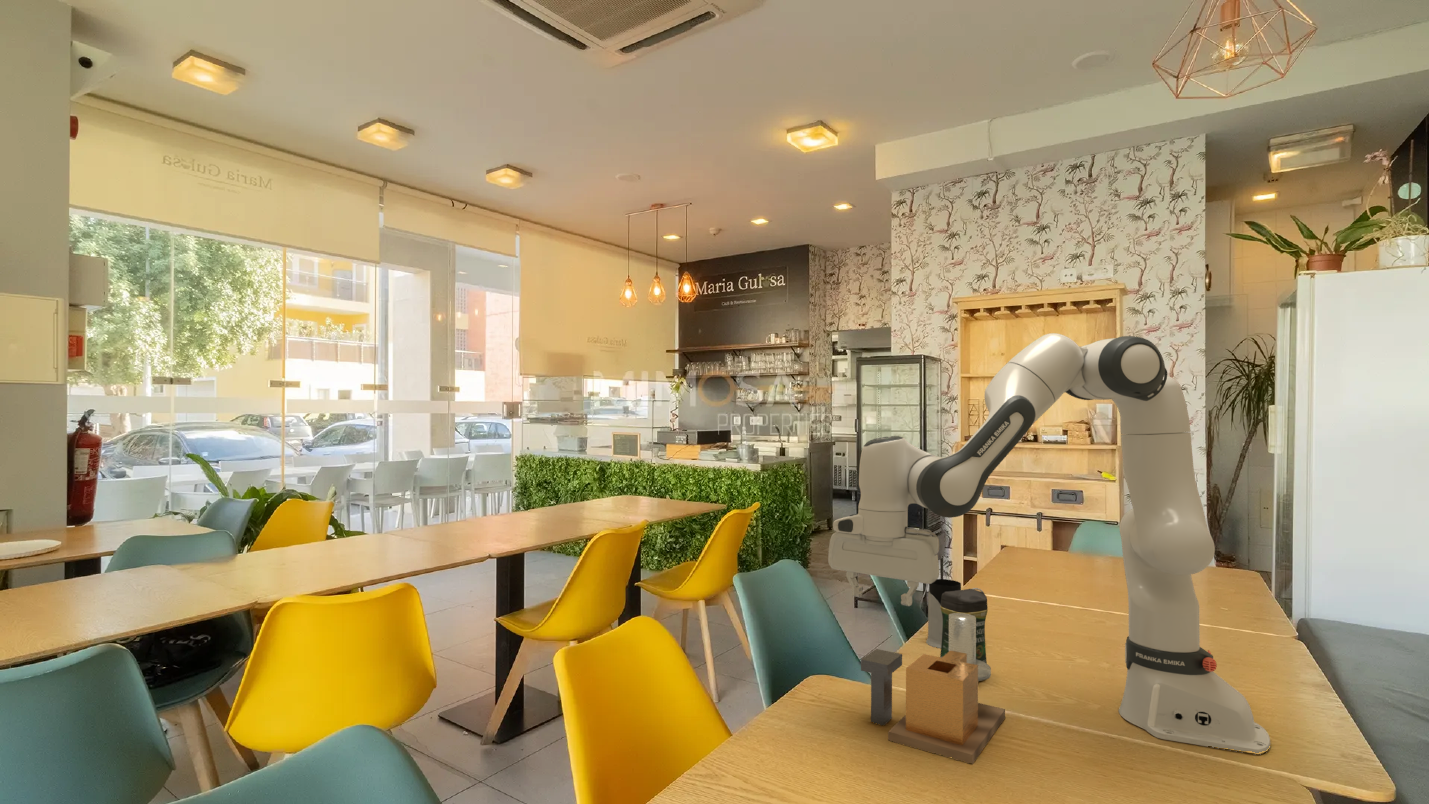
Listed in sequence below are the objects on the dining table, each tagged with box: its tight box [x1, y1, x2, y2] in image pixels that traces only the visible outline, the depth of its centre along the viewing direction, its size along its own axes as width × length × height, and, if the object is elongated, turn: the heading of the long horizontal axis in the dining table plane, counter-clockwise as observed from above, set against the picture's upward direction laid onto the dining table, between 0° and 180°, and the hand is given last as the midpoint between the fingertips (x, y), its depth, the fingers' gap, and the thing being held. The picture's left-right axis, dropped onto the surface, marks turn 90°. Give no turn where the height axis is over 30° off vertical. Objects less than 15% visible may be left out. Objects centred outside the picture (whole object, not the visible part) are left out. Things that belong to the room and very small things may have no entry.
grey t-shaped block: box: [860, 648, 903, 726], centre depth 128 cm, size 7×5×12 cm
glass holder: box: [925, 578, 985, 649], centre depth 172 cm, size 9×14×15 cm, turn 88°
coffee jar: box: [939, 588, 989, 664], centre depth 150 cm, size 10×8×19 cm
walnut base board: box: [887, 702, 1006, 765], centre depth 125 cm, size 22×14×2 cm, turn 145°
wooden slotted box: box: [905, 613, 992, 745], centre depth 127 cm, size 22×10×16 cm, turn 145°
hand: (881, 600), depth 128 cm, fingers open, 8 cm apart
